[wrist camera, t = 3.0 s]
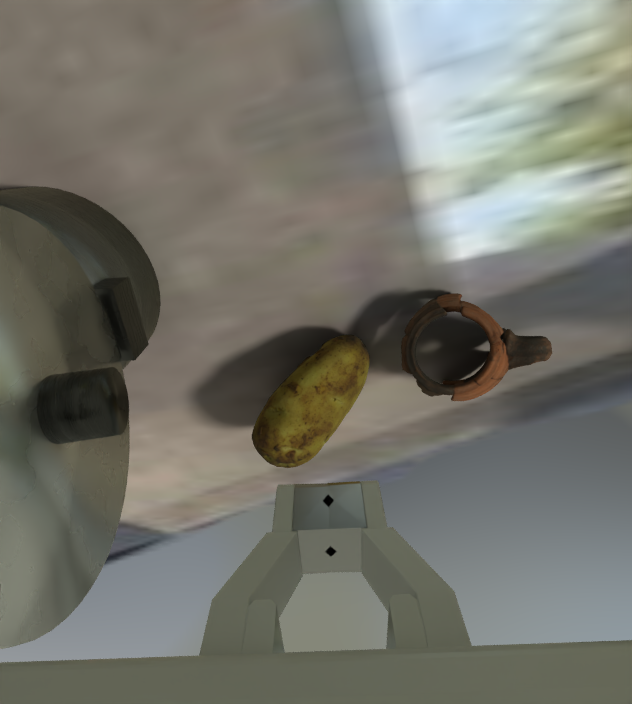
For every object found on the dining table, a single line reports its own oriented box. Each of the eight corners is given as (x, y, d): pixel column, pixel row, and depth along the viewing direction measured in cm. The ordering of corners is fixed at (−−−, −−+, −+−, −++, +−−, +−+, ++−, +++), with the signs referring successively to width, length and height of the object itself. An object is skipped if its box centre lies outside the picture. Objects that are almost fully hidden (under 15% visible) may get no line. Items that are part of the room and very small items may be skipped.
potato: (391, 382, 38) (408, 435, 31) (283, 435, 41) (277, 494, 34) (351, 316, 35) (361, 358, 28) (237, 378, 38) (219, 431, 31)
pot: (-90, 155, 29) (-265, 157, 20) (141, 140, 28) (64, 136, 20) (26, 392, 38) (-58, 462, 30) (197, 383, 38) (163, 452, 29)
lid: (-490, 278, 5) (-203, 253, 6) (47, 187, 20) (115, 182, 21) (15, 754, 13) (120, 728, 13) (134, 434, 28) (182, 427, 28)
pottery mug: (415, 396, 40) (404, 414, 32) (400, 305, 39) (386, 302, 32) (547, 382, 35) (572, 400, 28) (532, 281, 35) (552, 270, 27)
